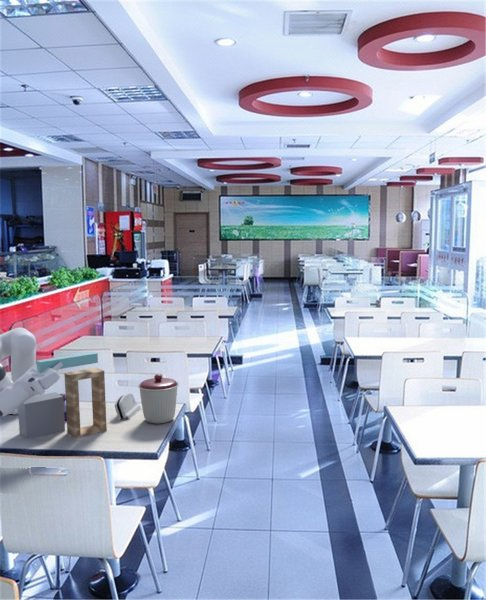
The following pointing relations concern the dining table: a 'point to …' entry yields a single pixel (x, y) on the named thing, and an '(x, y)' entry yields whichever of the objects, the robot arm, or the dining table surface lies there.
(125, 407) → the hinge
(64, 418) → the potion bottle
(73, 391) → the stand
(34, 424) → the low step
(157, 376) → the canister
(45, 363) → the teal bar
